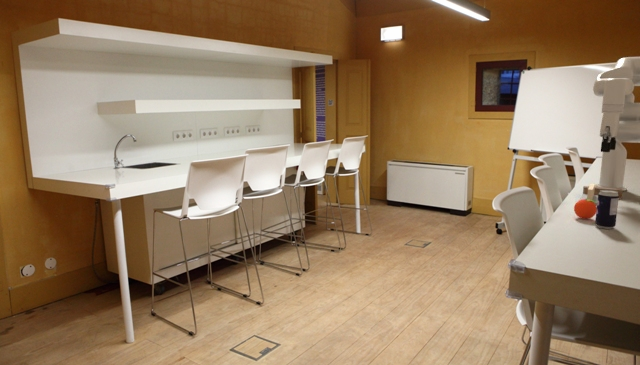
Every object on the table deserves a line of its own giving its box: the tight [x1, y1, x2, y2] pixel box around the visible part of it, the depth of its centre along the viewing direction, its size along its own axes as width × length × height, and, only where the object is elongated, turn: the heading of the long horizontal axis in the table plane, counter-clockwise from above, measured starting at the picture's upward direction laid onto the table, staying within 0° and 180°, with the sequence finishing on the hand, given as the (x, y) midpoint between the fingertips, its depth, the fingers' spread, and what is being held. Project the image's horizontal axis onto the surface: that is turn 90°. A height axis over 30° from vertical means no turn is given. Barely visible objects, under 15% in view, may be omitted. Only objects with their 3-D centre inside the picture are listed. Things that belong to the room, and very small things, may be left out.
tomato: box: [573, 199, 597, 220], centre depth 161 cm, size 8×7×7 cm
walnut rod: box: [582, 185, 623, 200], centre depth 199 cm, size 4×14×4 cm, turn 66°
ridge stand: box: [578, 183, 598, 207], centre depth 190 cm, size 18×7×6 cm, turn 146°
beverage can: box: [594, 190, 619, 230], centre depth 149 cm, size 6×6×12 cm
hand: (607, 150), depth 192 cm, fingers open, 9 cm apart
